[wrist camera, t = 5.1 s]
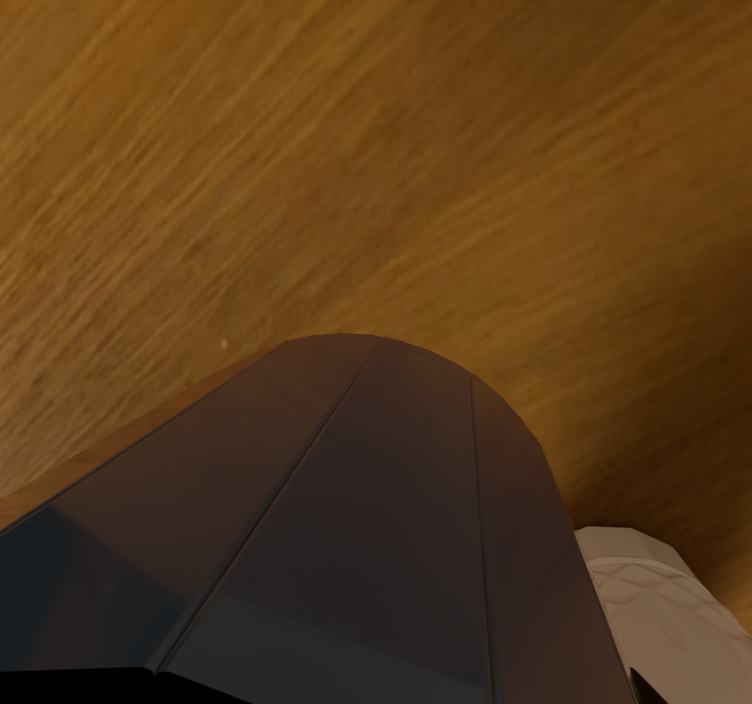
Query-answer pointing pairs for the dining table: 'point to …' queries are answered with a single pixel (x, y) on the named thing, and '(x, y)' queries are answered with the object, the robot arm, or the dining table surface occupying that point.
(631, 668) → the robot arm
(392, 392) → the cup
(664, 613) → the white cup
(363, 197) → the dining table surface
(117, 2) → the dining table surface
